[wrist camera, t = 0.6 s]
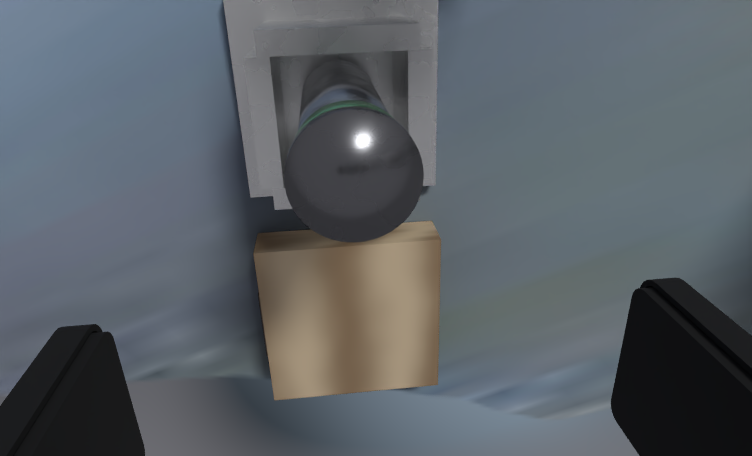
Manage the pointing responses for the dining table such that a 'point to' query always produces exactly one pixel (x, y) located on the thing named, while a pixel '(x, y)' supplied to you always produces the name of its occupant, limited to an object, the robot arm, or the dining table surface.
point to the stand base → (320, 45)
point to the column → (350, 158)
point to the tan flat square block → (350, 310)
